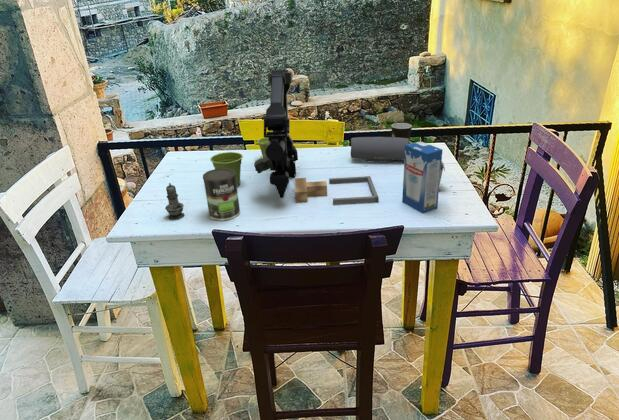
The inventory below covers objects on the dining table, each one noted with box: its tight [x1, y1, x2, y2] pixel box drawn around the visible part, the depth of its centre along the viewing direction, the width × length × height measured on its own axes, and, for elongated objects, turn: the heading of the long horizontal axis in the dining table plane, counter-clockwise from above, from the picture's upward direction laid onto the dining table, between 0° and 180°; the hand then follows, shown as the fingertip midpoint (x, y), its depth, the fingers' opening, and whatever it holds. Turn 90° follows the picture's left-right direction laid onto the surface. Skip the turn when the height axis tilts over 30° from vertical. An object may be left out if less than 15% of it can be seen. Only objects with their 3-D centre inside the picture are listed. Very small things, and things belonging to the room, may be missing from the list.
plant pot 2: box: [257, 137, 269, 158], centre depth 191 cm, size 9×9×9 cm
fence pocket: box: [328, 175, 380, 206], centre depth 159 cm, size 15×18×2 cm
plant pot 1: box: [209, 151, 244, 188], centre depth 168 cm, size 12×12×11 cm
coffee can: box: [202, 168, 241, 222], centre depth 147 cm, size 10×10×14 cm
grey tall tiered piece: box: [164, 182, 185, 221], centre depth 147 cm, size 6×6×12 cm
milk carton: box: [401, 140, 443, 214], centre depth 144 cm, size 10×6×20 cm, turn 29°
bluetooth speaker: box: [350, 136, 410, 163], centre depth 184 cm, size 23×9×10 cm, turn 80°
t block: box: [294, 177, 328, 204], centre depth 159 cm, size 11×12×4 cm
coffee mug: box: [390, 122, 413, 141], centre depth 197 cm, size 12×9×10 cm
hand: (281, 192), depth 159 cm, fingers open, 9 cm apart
